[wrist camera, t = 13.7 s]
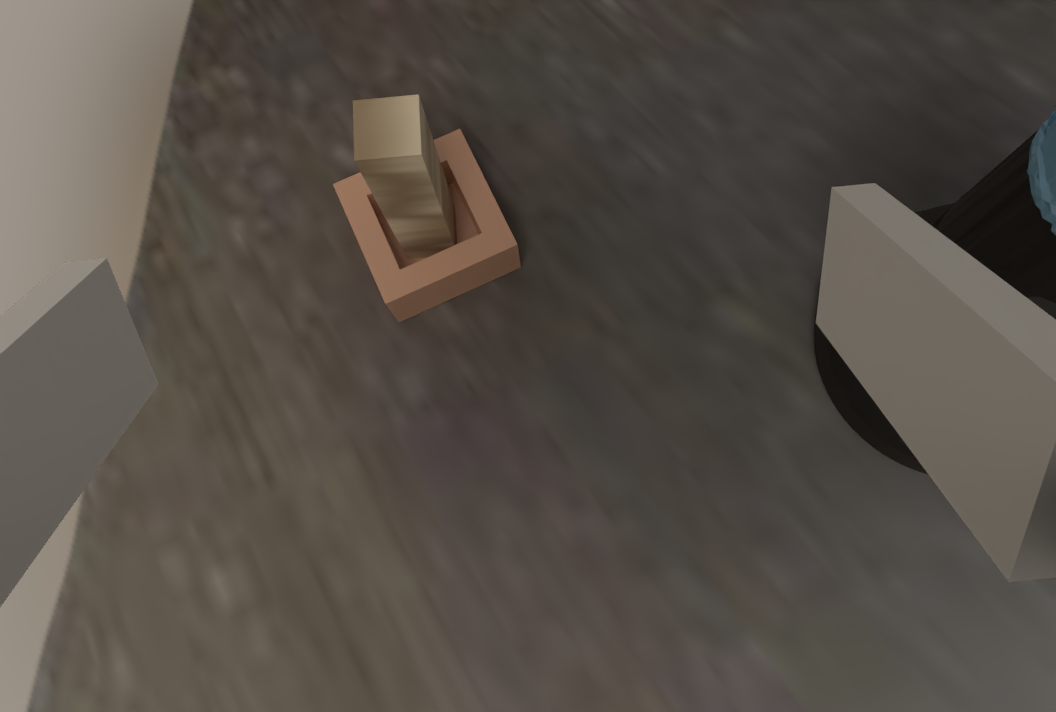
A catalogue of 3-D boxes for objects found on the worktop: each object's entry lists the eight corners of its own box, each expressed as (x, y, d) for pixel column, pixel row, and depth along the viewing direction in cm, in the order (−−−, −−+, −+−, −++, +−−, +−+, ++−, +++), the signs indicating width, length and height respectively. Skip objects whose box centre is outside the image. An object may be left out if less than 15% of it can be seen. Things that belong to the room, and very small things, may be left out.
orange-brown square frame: (467, 159, 48) (460, 128, 44) (521, 267, 46) (517, 244, 42) (349, 210, 47) (333, 184, 44) (398, 322, 45) (385, 304, 42)
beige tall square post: (455, 208, 46) (418, 94, 34) (457, 254, 45) (421, 154, 34) (405, 212, 46) (352, 100, 34) (407, 259, 45) (354, 160, 34)
